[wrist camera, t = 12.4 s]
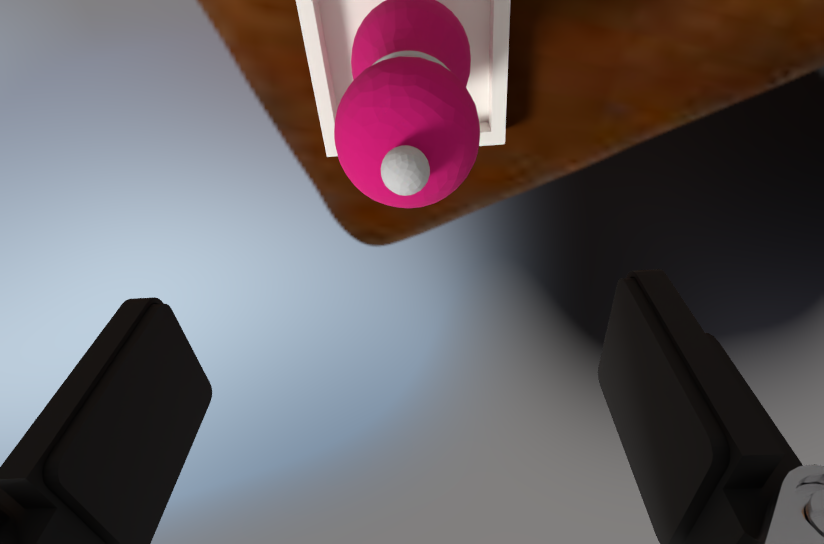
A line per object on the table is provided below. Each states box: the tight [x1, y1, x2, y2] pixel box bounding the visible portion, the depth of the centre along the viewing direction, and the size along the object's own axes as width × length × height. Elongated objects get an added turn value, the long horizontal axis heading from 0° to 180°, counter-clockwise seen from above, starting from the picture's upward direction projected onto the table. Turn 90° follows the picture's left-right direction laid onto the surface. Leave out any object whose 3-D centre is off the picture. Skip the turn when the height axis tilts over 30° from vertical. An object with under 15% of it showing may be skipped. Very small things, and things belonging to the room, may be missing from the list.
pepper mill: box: [334, 0, 480, 208], centre depth 24 cm, size 7×7×20 cm
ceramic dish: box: [296, 0, 511, 157], centre depth 32 cm, size 13×13×2 cm
